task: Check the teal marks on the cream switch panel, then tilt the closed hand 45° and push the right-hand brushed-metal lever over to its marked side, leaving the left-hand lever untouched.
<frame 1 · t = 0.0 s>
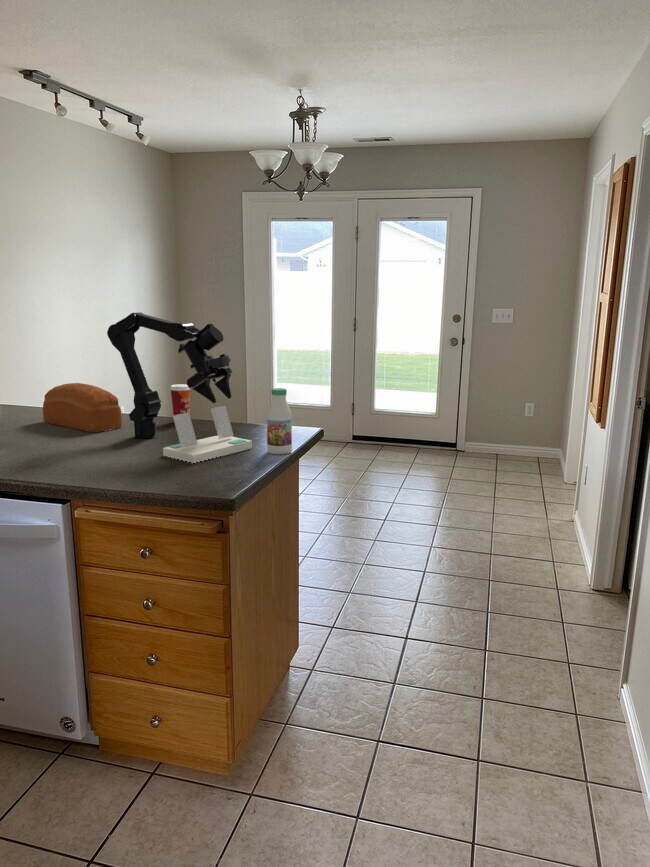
hand: (222, 400, 209), 15 cm above the countertop, tool tilted 35°, fingers open, 9 cm apart
bread: (82, 425, 242), on the countertop
right lever: (222, 422, 209), point 8 cm above the countertop, hinge at -20.0°
milk bottle: (279, 452, 204), on the countertop
left lever: (185, 430, 197), point 8 cm above the countertop, hinge at -20.0°
paper cup: (181, 422, 248), on the countertop
switch panel: (208, 452, 204), on the countertop
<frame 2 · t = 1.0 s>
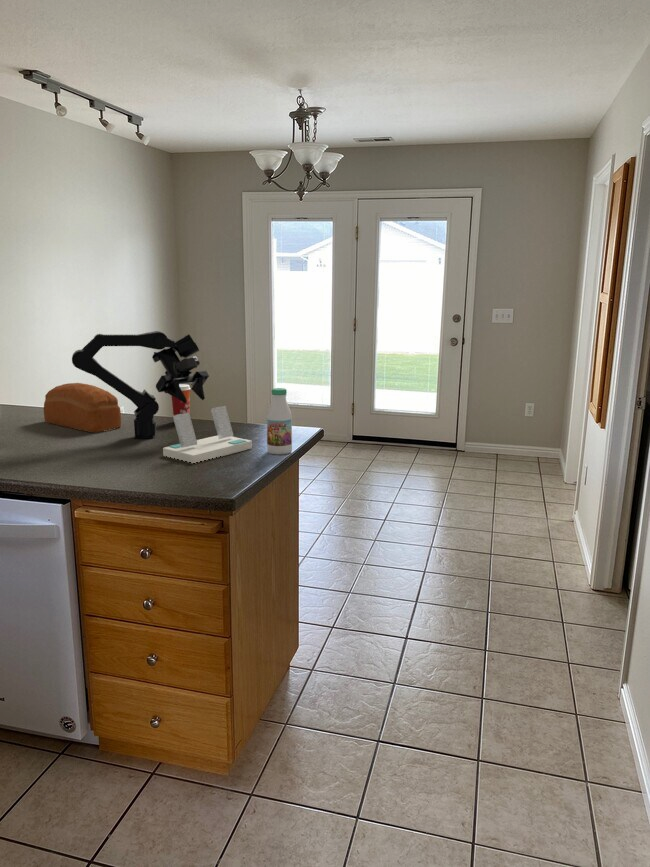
hand: (195, 400, 216), 14 cm above the countertop, tool tilted 45°, fingers open, 7 cm apart
nothing on the countertop moved.
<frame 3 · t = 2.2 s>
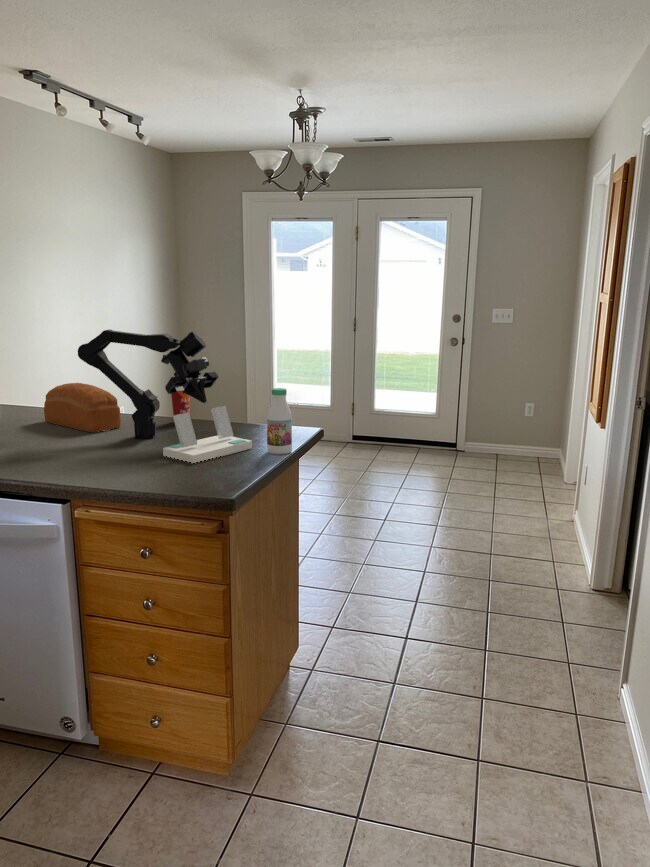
hand: (205, 402, 213), 14 cm above the countertop, tool tilted 45°, fingers closed
nothing on the countertop moved.
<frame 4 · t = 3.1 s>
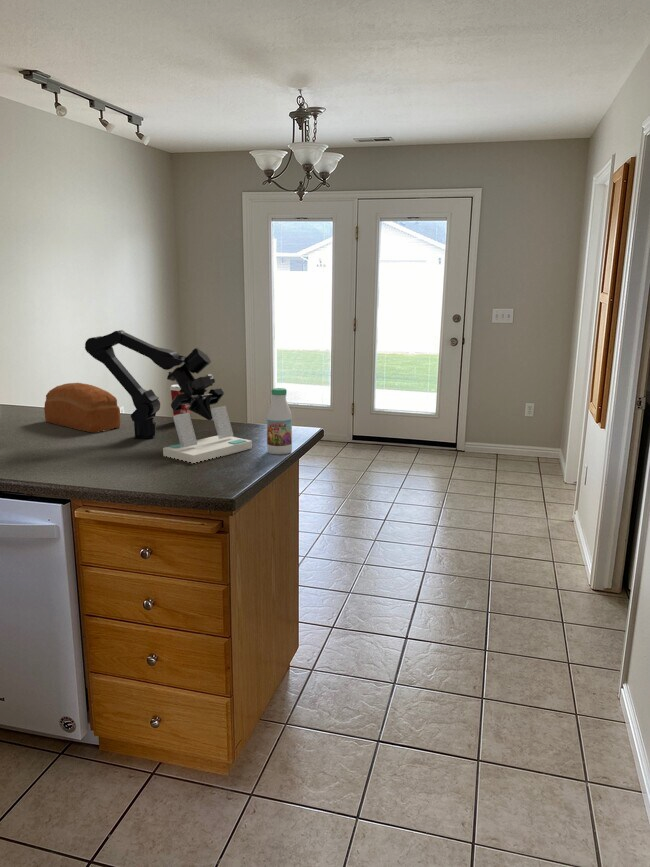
hand: (210, 419, 212), 8 cm above the countertop, tool tilted 45°, fingers closed
nothing on the countertop moved.
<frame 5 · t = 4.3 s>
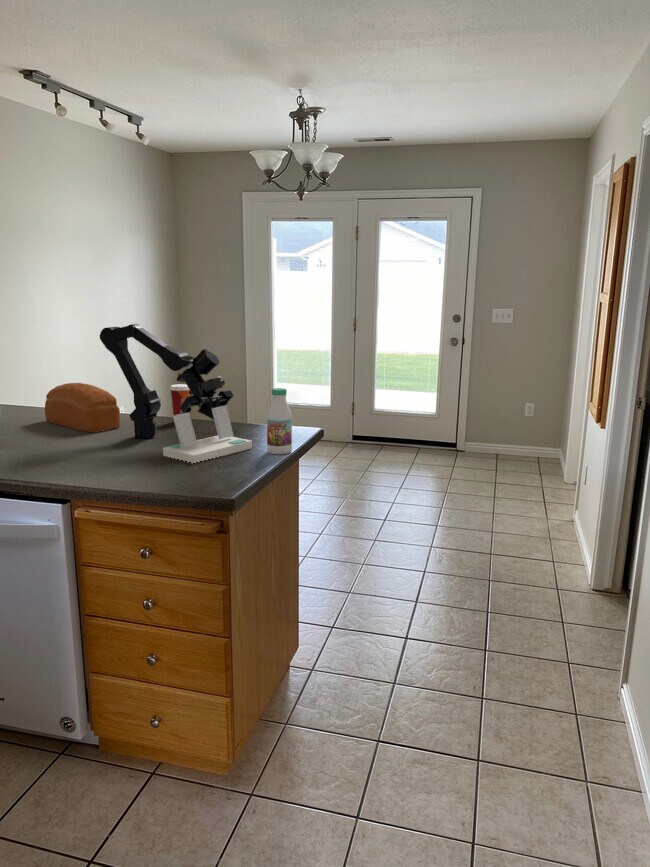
hand: (220, 421, 210), 8 cm above the countertop, tool tilted 45°, fingers closed, pressing on right lever
right lever: (222, 422, 209), point 8 cm above the countertop, hinge at -17.4°, touching gripper
everything else where it was.
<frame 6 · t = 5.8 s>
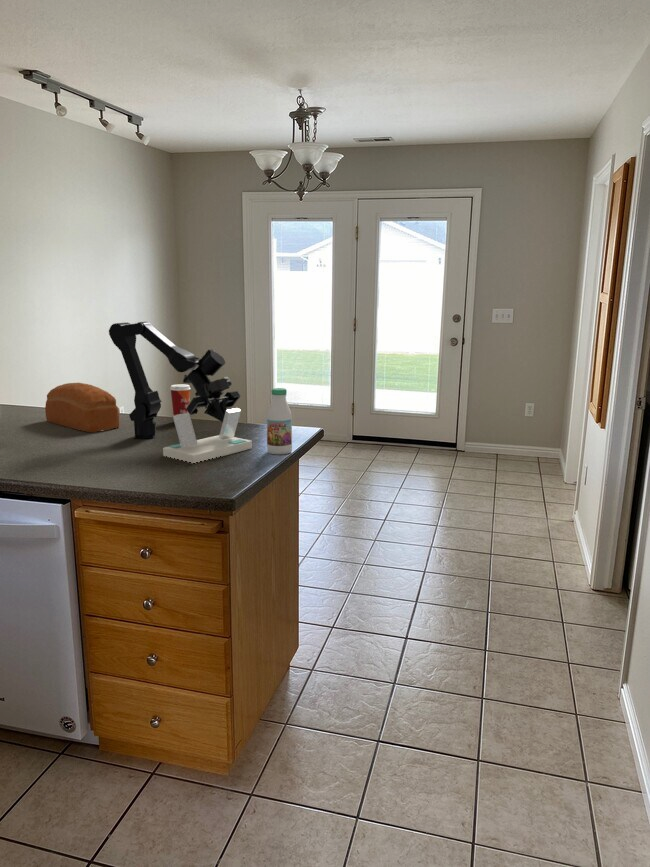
hand: (227, 423, 207), 8 cm above the countertop, tool tilted 45°, fingers closed
right lever: (229, 424, 207), point 8 cm above the countertop, hinge at 21.7°
everything else where it was.
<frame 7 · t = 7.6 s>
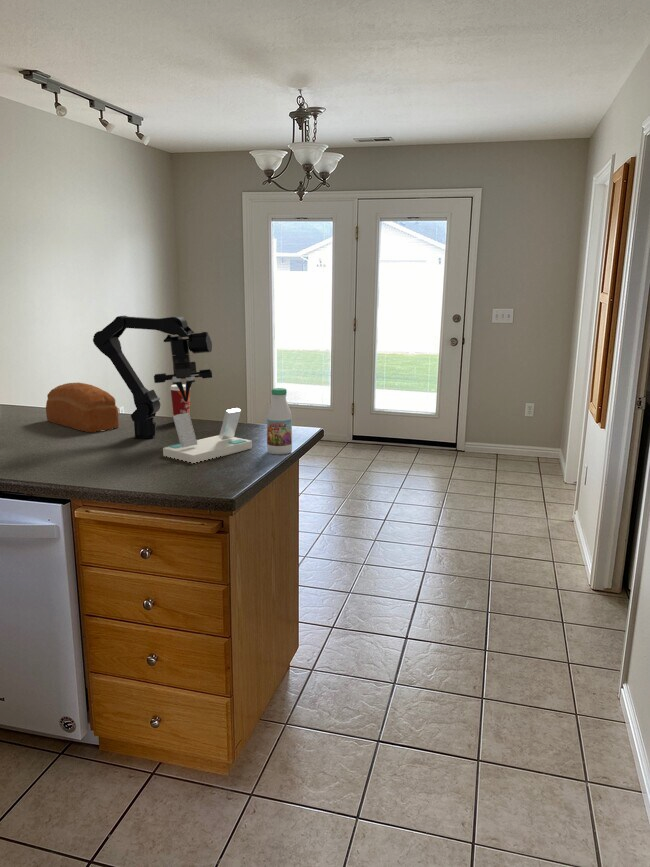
hand: (186, 401, 218), 13 cm above the countertop, tool pointing down, fingers closed
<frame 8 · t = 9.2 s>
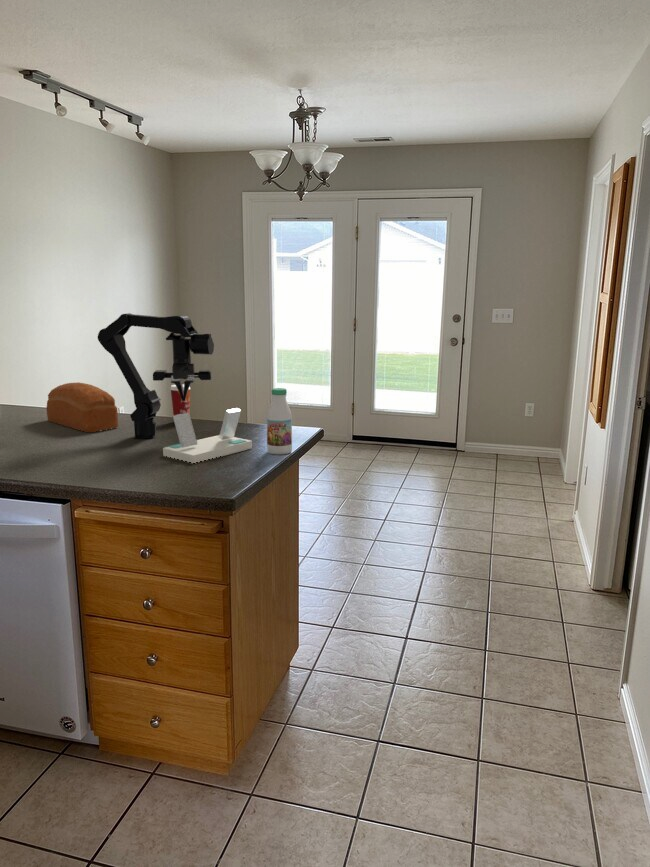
hand: (183, 400, 218), 13 cm above the countertop, tool pointing down, fingers closed
at the end: right lever at +22° (first picture: -20°); left lever at -20° (first picture: -20°) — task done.
